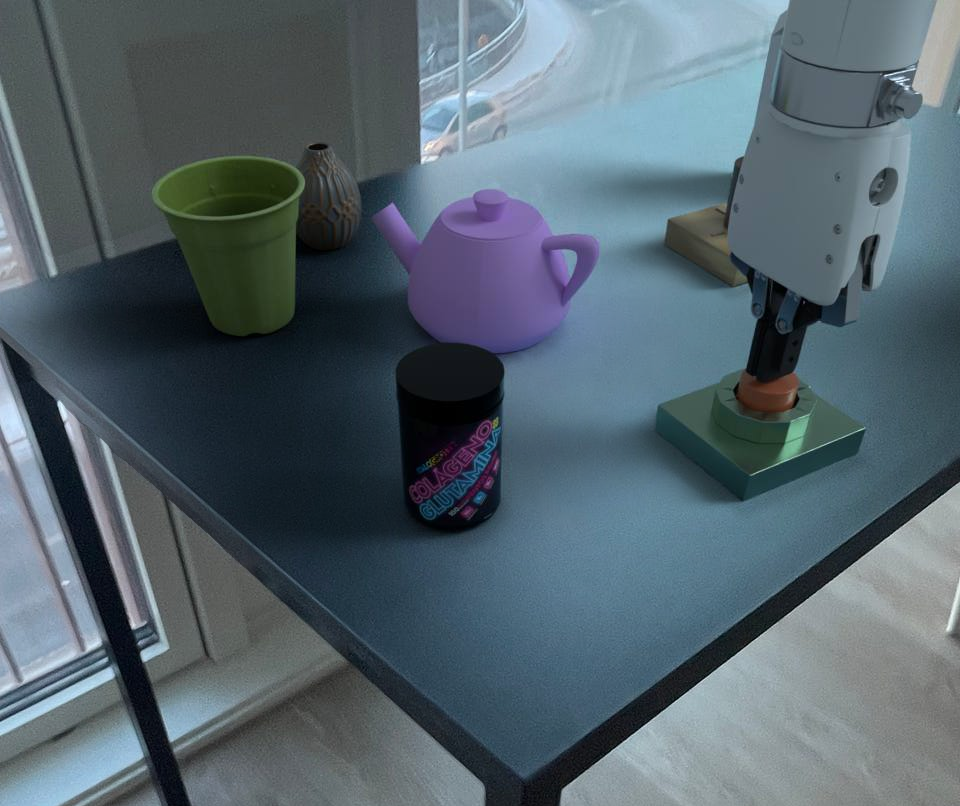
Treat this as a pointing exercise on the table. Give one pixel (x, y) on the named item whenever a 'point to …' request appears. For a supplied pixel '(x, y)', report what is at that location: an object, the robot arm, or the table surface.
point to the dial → (732, 189)
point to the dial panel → (704, 242)
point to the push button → (768, 393)
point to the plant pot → (237, 237)
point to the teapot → (488, 271)
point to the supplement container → (451, 434)
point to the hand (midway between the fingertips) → (769, 372)
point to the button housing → (757, 436)
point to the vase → (327, 199)
